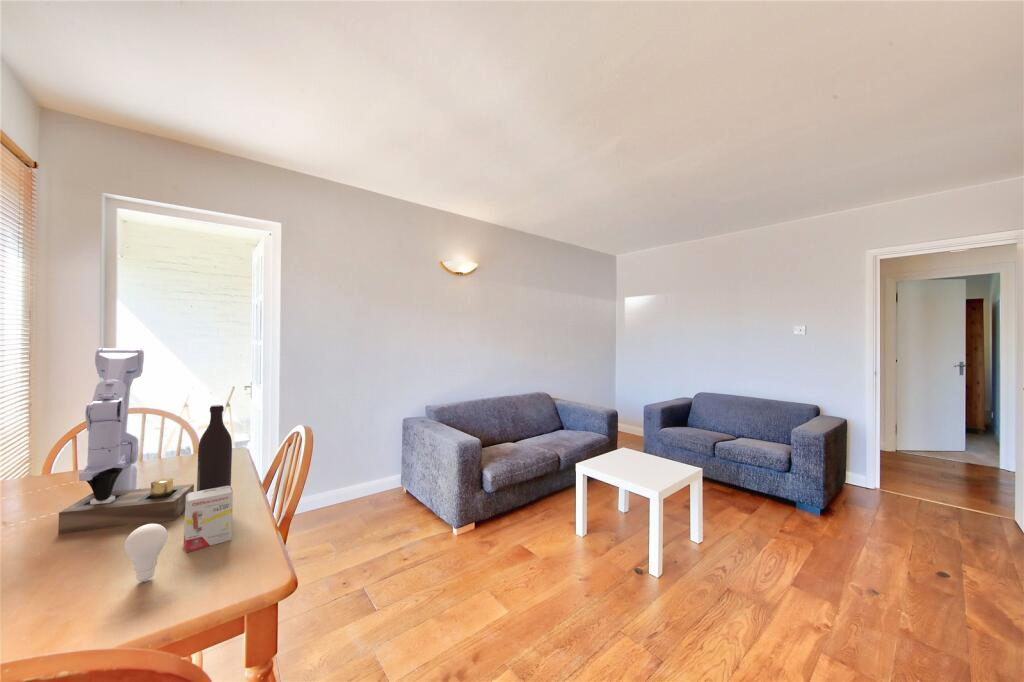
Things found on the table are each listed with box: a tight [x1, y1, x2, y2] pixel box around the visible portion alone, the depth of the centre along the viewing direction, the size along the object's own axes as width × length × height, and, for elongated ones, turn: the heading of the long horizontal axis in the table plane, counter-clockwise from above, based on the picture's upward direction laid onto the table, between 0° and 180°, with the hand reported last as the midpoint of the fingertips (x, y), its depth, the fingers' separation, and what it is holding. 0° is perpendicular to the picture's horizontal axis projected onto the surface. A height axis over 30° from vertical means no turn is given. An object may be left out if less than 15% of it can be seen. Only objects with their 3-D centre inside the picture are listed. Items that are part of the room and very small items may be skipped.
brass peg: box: [150, 478, 174, 499], centre depth 102 cm, size 4×4×5 cm
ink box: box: [183, 485, 234, 553], centre depth 88 cm, size 9×5×12 cm, turn 133°
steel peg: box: [90, 495, 115, 505], centre depth 97 cm, size 4×4×5 cm
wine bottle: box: [196, 404, 233, 491], centre depth 99 cm, size 7×7×30 cm
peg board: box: [57, 483, 195, 534], centre depth 100 cm, size 12×22×5 cm, turn 111°
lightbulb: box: [124, 523, 169, 583], centre depth 74 cm, size 6×6×11 cm
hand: (102, 499), depth 97 cm, fingers closed, pressing on steel peg
